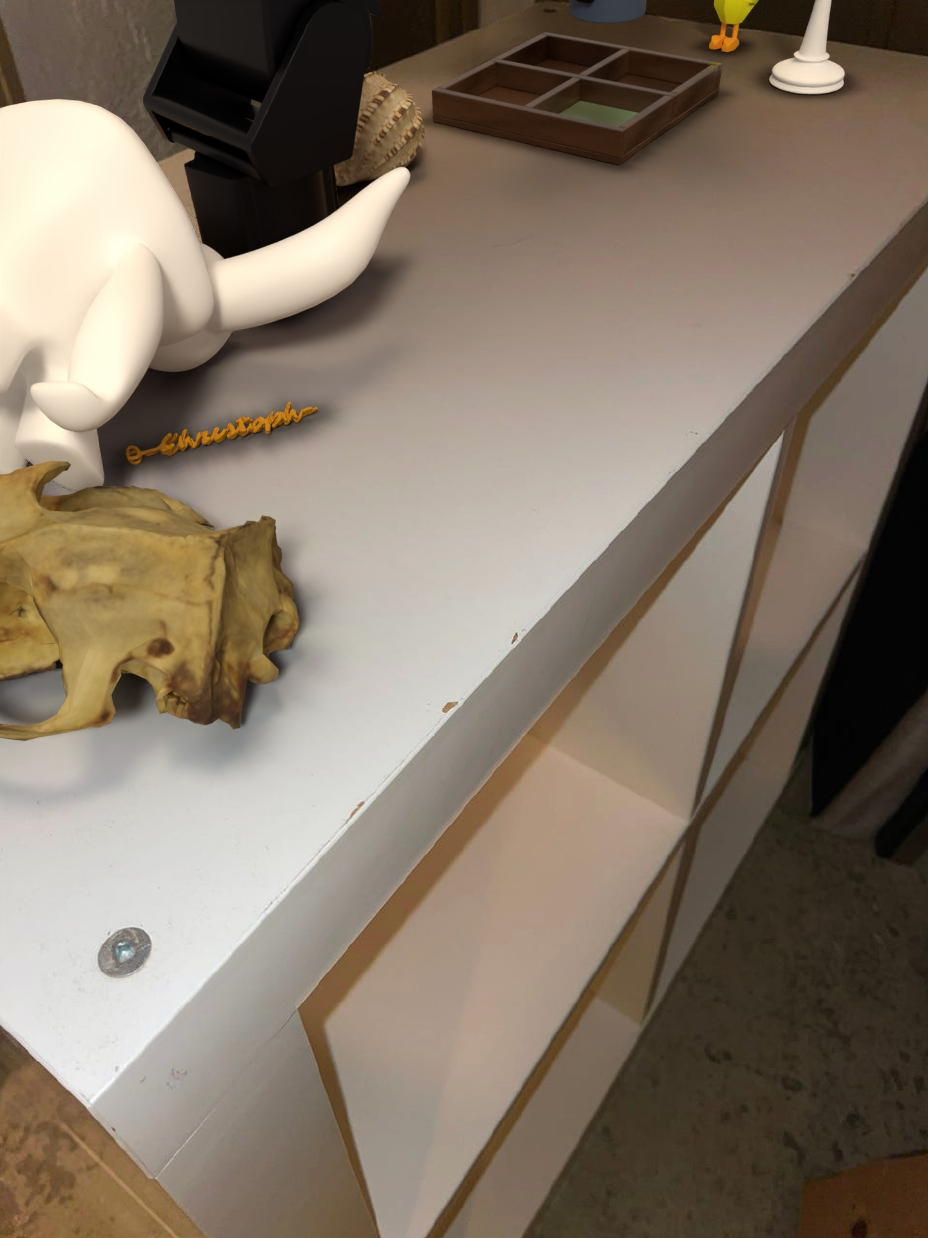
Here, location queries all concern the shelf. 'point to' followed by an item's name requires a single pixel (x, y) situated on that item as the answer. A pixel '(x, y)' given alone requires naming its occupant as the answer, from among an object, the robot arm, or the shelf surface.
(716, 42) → the toy figure
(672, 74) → the grid
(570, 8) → the short blue cylinder
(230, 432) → the keychain
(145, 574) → the animal skull
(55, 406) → the toy animal
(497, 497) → the shelf surface
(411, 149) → the seashell
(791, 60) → the chess piece
